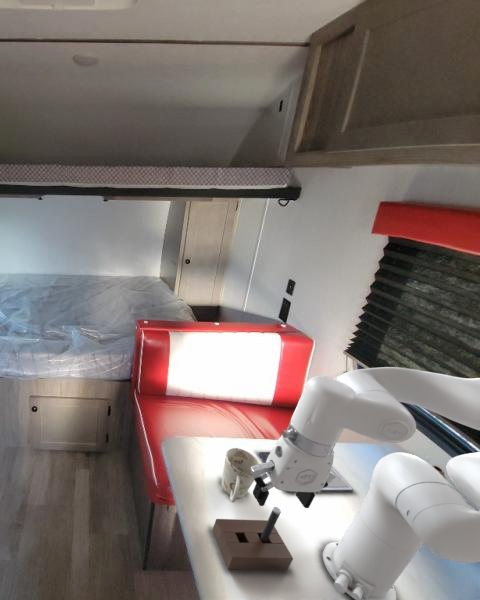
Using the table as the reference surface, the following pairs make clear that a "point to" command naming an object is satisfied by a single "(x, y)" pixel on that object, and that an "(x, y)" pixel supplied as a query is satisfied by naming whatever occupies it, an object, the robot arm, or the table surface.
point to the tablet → (333, 486)
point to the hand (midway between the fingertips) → (279, 500)
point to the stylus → (270, 525)
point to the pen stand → (250, 545)
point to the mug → (238, 472)
